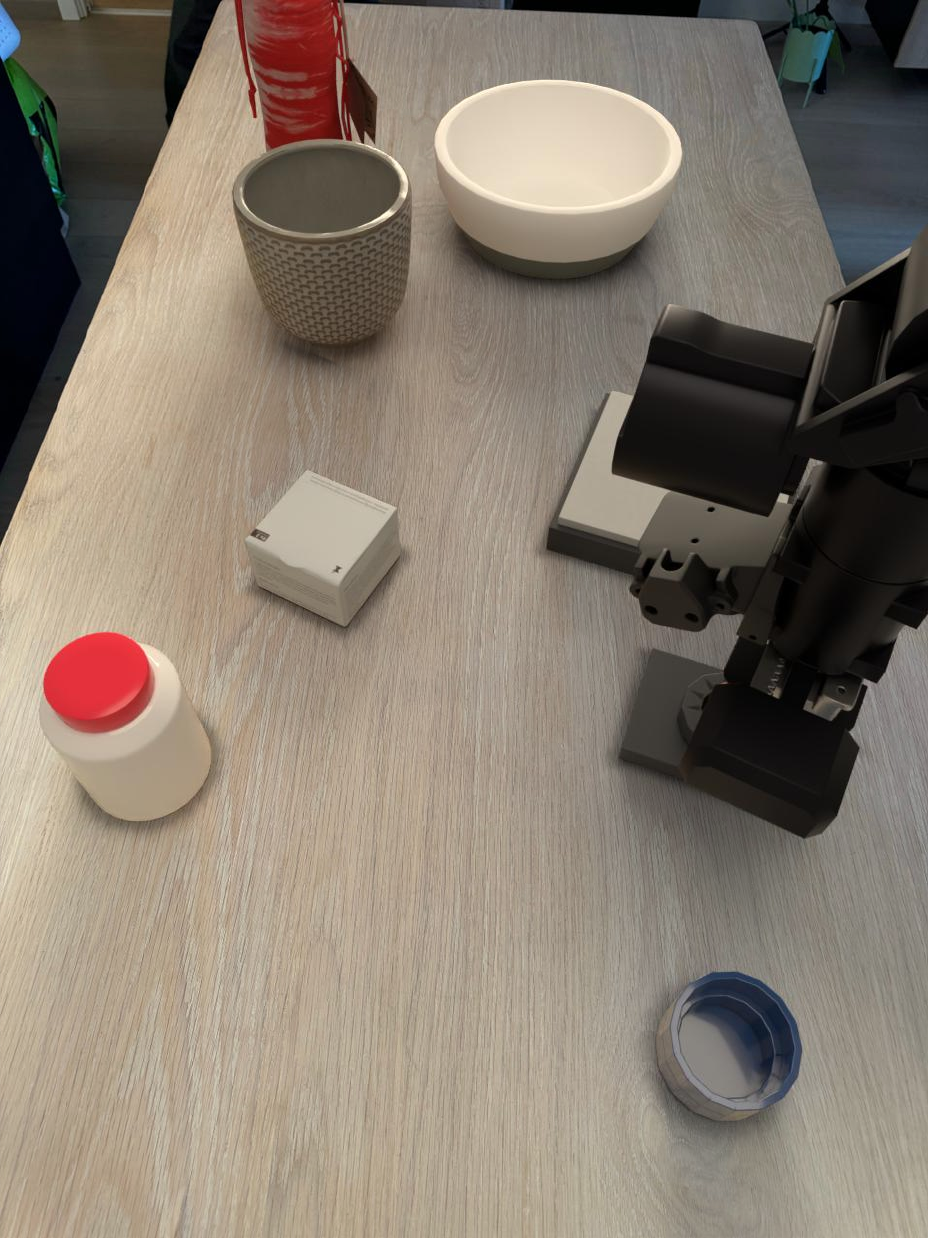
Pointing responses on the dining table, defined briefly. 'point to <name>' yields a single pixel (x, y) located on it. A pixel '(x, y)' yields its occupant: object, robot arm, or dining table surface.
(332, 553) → the small box
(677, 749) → the pad
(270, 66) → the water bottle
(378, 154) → the planter
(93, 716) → the pill bottle
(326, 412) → the dining table surface
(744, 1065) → the small dish
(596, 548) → the scale
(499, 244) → the bowl
